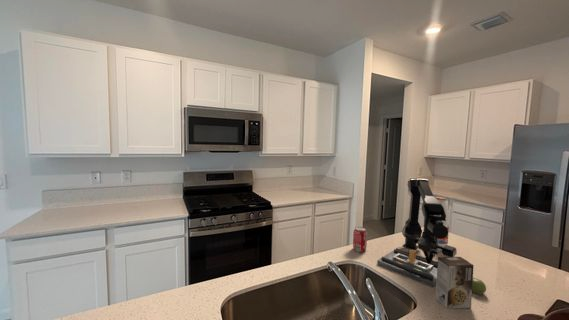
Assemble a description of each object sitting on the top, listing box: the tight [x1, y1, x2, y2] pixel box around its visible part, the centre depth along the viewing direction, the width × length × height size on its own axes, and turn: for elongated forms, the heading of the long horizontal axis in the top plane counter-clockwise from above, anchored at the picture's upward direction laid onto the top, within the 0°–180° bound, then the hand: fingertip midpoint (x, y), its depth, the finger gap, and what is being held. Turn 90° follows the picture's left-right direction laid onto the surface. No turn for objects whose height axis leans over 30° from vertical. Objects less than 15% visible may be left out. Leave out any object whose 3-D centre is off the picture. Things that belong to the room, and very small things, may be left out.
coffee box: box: [435, 256, 474, 309], centre depth 87 cm, size 9×6×16 cm
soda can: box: [352, 226, 368, 253], centre depth 129 cm, size 7×7×12 cm
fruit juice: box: [433, 196, 450, 247], centre depth 138 cm, size 9×9×28 cm
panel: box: [376, 249, 437, 288], centre depth 112 cm, size 20×24×3 cm
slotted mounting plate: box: [380, 247, 438, 280], centre depth 112 cm, size 22×17×1 cm
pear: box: [472, 277, 487, 295], centre depth 96 cm, size 6×5×10 cm
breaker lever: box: [407, 249, 418, 265], centre depth 112 cm, size 3×4×6 cm
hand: (428, 263), depth 107 cm, fingers closed
